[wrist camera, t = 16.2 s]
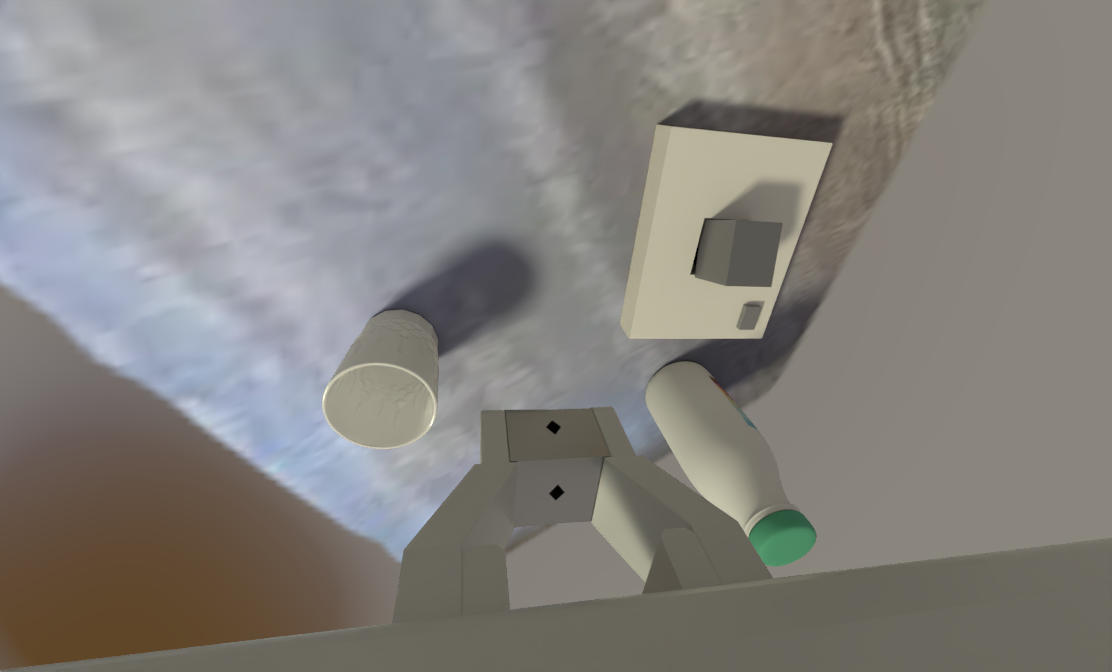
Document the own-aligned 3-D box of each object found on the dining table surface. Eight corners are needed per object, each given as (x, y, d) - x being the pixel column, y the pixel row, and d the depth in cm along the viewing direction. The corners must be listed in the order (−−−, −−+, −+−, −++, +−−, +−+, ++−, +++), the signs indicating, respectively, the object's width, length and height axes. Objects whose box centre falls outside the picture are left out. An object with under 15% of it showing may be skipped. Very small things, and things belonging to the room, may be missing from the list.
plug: (690, 219, 39) (736, 219, 32) (729, 221, 40) (782, 222, 33) (683, 274, 41) (726, 286, 34) (721, 275, 41) (771, 287, 34)
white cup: (456, 319, 40) (451, 380, 31) (429, 385, 43) (419, 458, 34) (367, 290, 37) (335, 348, 29) (345, 363, 40) (311, 436, 31)
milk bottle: (635, 414, 49) (724, 585, 32) (653, 357, 46) (762, 514, 29) (696, 415, 51) (811, 578, 34) (717, 360, 47) (858, 510, 30)
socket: (656, 124, 35) (674, 127, 32) (807, 140, 37) (838, 143, 34) (620, 324, 43) (631, 341, 40) (745, 325, 46) (765, 341, 43)
